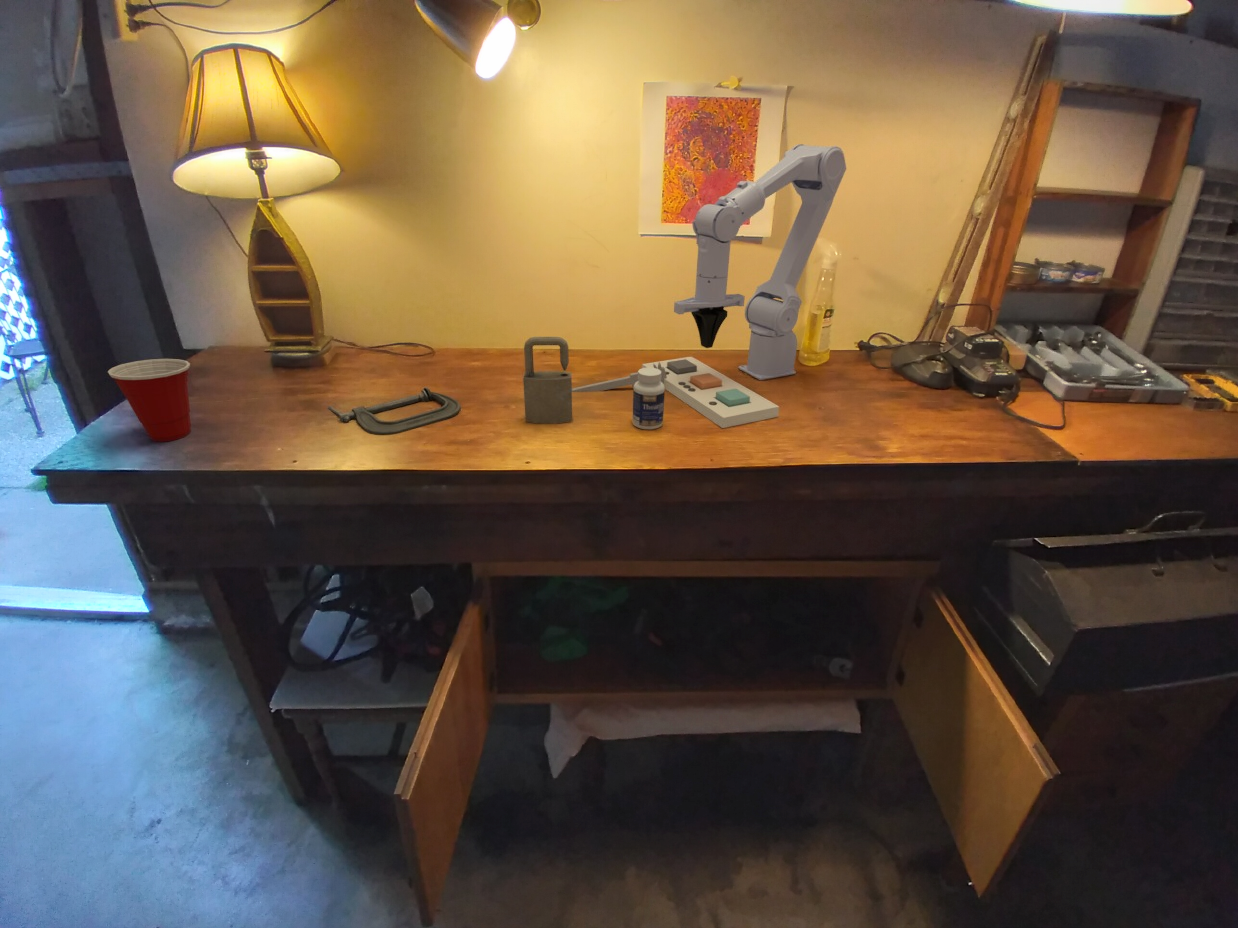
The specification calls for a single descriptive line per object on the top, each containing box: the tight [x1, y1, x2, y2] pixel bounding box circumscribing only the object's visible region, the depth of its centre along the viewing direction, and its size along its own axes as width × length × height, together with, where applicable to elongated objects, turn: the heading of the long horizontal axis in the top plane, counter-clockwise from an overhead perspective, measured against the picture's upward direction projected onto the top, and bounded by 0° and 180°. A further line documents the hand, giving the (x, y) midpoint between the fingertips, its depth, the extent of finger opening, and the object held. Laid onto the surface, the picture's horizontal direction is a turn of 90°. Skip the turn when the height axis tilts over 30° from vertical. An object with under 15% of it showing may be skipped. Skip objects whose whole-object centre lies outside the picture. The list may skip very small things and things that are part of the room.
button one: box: [716, 389, 750, 407], centre depth 121 cm, size 4×4×3 cm
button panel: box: [641, 356, 780, 429], centre depth 128 cm, size 12×30×2 cm, turn 26°
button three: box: [690, 373, 722, 390], centre depth 128 cm, size 4×4×3 cm
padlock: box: [522, 336, 573, 424], centre depth 113 cm, size 4×8×15 cm, turn 93°
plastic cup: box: [107, 358, 192, 443], centre depth 106 cm, size 11×11×12 cm
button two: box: [667, 359, 697, 375], centre depth 135 cm, size 4×4×3 cm
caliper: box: [572, 361, 667, 393], centre depth 129 cm, size 20×1×6 cm, turn 99°
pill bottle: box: [632, 367, 666, 430], centre depth 113 cm, size 5×5×10 cm
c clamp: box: [327, 387, 462, 436], centre depth 118 cm, size 20×17×3 cm
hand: (706, 346), depth 127 cm, fingers closed
